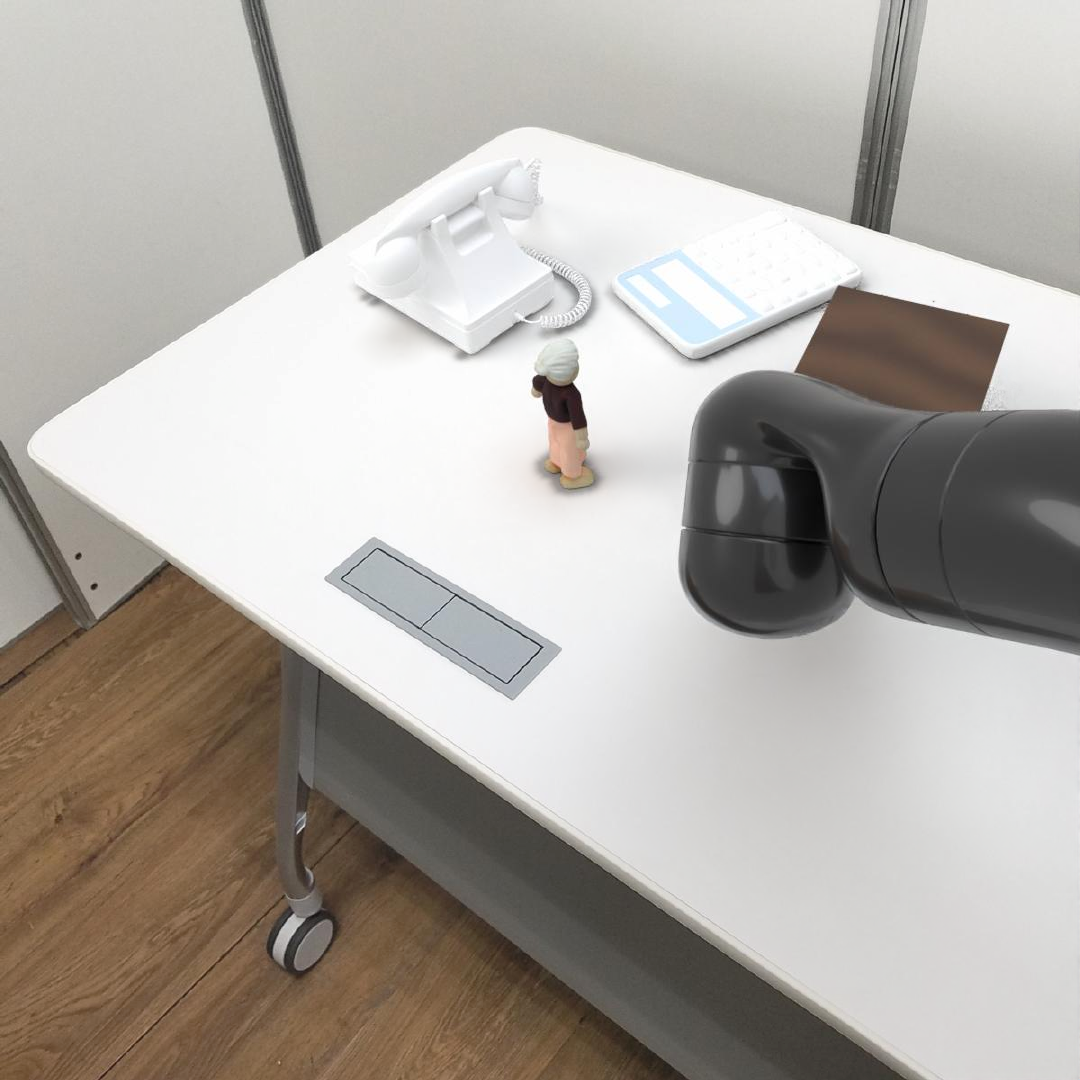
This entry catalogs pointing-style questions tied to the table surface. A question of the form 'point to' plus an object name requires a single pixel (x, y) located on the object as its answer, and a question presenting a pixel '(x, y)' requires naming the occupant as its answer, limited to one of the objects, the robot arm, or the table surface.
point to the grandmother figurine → (563, 412)
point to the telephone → (466, 258)
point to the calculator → (735, 283)
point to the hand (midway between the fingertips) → (840, 514)
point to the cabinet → (904, 352)
